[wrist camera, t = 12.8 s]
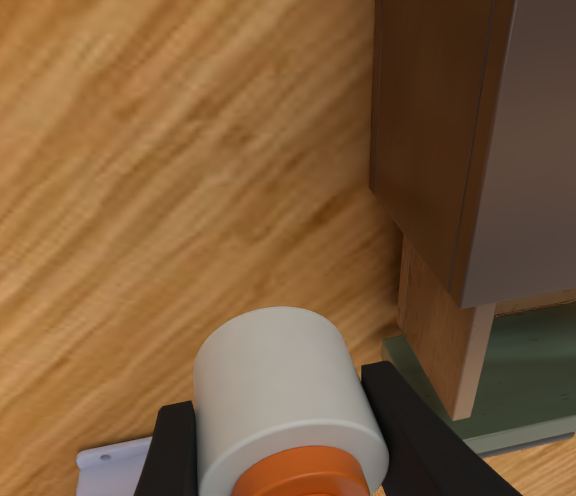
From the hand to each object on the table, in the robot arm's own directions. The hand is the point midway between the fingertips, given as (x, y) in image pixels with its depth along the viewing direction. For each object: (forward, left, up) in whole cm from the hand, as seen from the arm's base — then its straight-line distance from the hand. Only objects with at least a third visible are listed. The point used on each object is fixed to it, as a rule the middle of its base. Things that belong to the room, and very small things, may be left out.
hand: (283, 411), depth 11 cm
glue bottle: (0, 0, -1) cm, 1 cm away
